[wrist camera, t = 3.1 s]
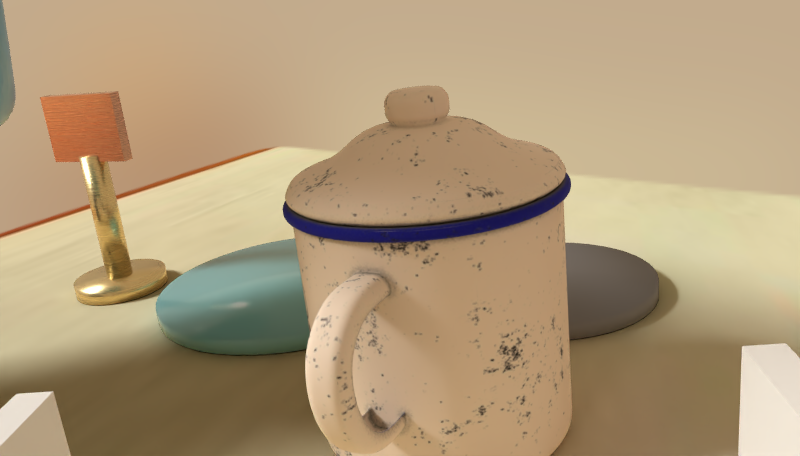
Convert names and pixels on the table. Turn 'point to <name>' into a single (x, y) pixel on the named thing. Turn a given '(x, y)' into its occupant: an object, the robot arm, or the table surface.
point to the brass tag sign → (101, 191)
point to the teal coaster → (239, 303)
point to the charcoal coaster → (607, 289)
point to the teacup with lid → (435, 287)
